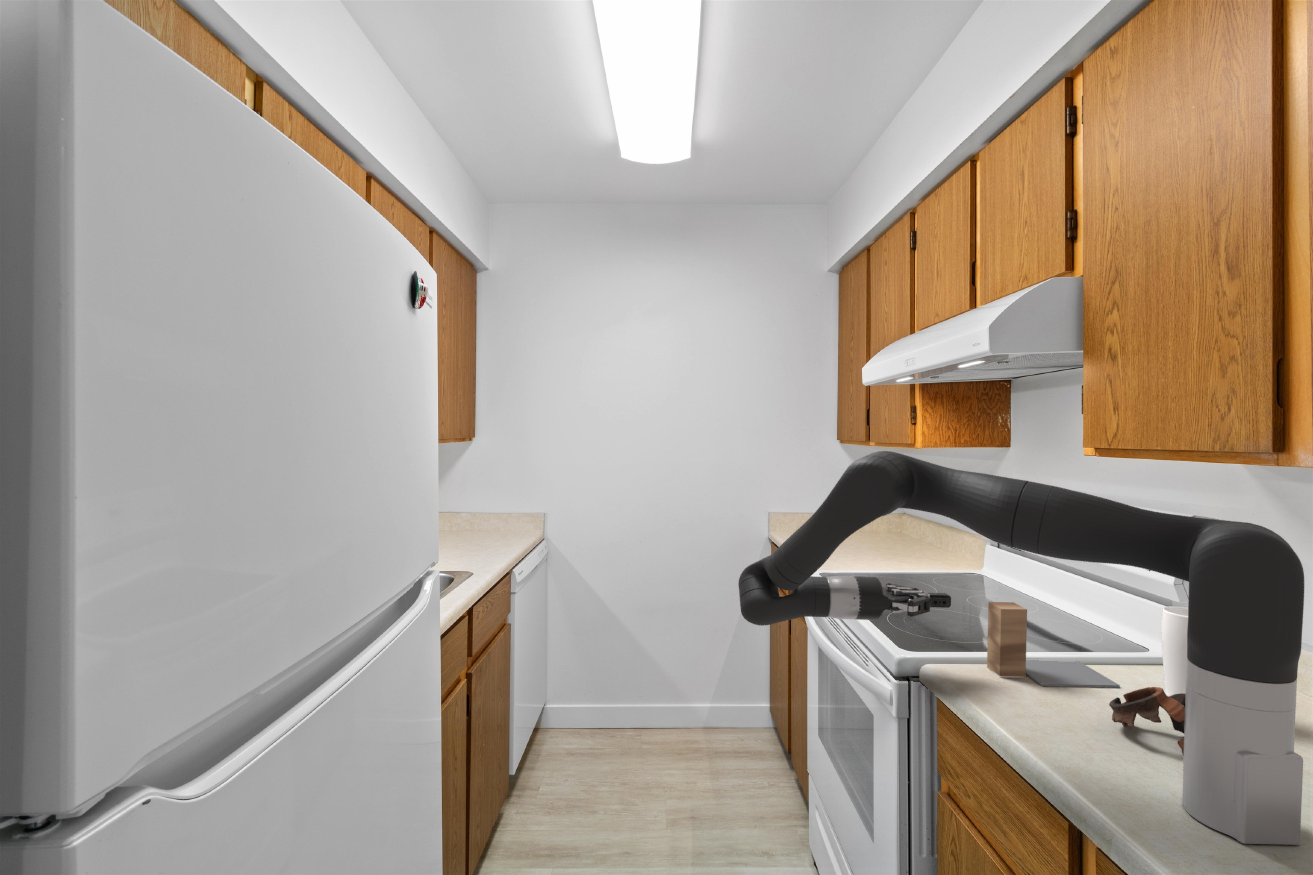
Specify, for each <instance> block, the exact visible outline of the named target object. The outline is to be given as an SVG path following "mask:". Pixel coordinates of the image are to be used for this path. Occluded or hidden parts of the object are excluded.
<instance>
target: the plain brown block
mask: <svg viewBox="0 0 1313 875" xmlns="http://www.w3.org/2000/svg"><path fill="white" fill-rule="evenodd" d="M987 611H988V612H987V613H988V614H987V643H986V644H987V648H986V650H987V652H986V668H987V669H988V670H989V671H990V672H992V673H993V674H995V675H996V676H997V677H999V678H1026V676H1027V675H1026V659H1027V637H1028V636H1027V634H1028V633H1027V632H1028V631H1027V629H1028V628H1027V627H1028V626H1027V625H1028V608H1025V607H1023V606H1022V605H1019V604H1018V603H1015V602H1013V601H1006V602H1005V601H988V610H987Z"/></svg>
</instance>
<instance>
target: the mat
mask: <svg viewBox="0 0 1313 875" xmlns="http://www.w3.org/2000/svg"><path fill="white" fill-rule="evenodd" d="M1026 676H1027V677H1028V678H1029V679H1031V680H1033V681H1034V682H1035V683H1037V684H1038V685H1040V686H1041V687H1056V688H1057V687H1062V688H1114V689H1115V688H1118V689H1119V688H1121V685H1120V684H1118V683H1117V682H1115V681H1114V680H1112V679H1110V678H1109V677H1107V676H1105V675H1103V674H1102V673H1100V672H1098V671H1097V670H1095V669H1093V668H1091V667H1089V666H1088V665H1086V664H1085V663H1082V662H1081V661H1079V660H1078V662H1077V661H1075V662H1058V661H1039V660H1026Z"/></svg>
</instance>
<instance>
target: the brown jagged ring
mask: <svg viewBox="0 0 1313 875" xmlns="http://www.w3.org/2000/svg"><path fill="white" fill-rule="evenodd" d="M1185 697H1186V694H1184V693H1180V694H1174V695H1172V696H1167V695H1166V694H1165V689H1163V688H1162V687H1160V686H1159V687H1158V686H1151V687H1150V686H1149V687H1145V688H1144V687H1143V688H1139V689H1136V690H1133V691H1132V690H1131V691H1130V692H1126V693H1124V694H1123V698H1124V700H1125V702H1122V701H1121V697H1116V698H1113V699H1112V700H1110V702H1109V703H1108V705H1109V707H1110V709H1111V710H1112V711H1113V712H1112V715H1111V720H1112V721H1113V723H1120V724H1122V726H1124V727H1128V726H1129V727H1130V728H1133V729H1134V728H1135V720H1136V717H1137V714H1138V716H1139V717H1141V718H1142V719H1145V720H1149V721H1151V723H1155V724H1156V723H1159V724H1160V723H1162V720H1161V717H1160V707H1161V709H1163V710H1164V711H1165V712H1166V713H1167V714H1168V716H1169V719H1170V721H1171V724H1172V728H1173V730H1174V731H1177V732H1180V733H1182V734H1183V735H1184V727H1185ZM1176 743H1177V745H1178V747H1179V748H1180V749H1181V753H1182V757H1184V737H1183V738H1181V739H1179V740H1177V742H1176Z"/></svg>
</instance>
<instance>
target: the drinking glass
mask: <svg viewBox="0 0 1313 875" xmlns="http://www.w3.org/2000/svg"><path fill="white" fill-rule="evenodd" d="M1160 620H1161V622H1160V640H1161V652H1162V668H1163V680H1164V681H1163V683H1164V692H1165V694H1166V695H1167V696H1172V695H1174V694H1180V693H1184V694H1186V672H1187V628H1188V607H1186V606H1185V607H1184V606H1176V605H1175V606H1173V605H1172V606H1171V605H1170V606H1164V607H1163V608H1162V609H1161V619H1160Z"/></svg>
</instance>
